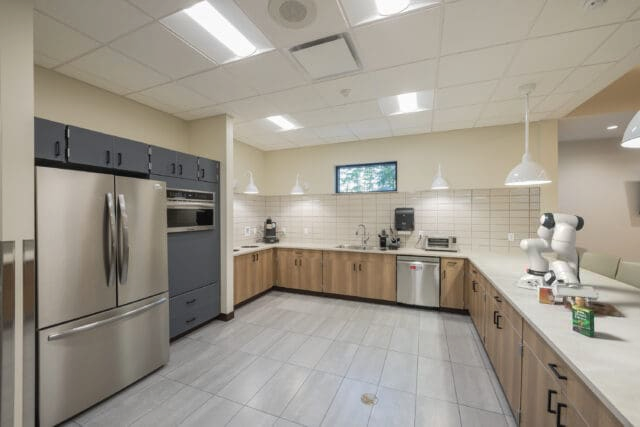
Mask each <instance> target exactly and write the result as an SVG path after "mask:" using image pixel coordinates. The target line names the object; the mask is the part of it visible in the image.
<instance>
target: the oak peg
mask: <svg viewBox="0 0 640 427" xmlns="http://www.w3.org/2000/svg"><path fill="white" fill-rule="evenodd" d="M575 302H576V305H578V306H581V307H584V298H581V297H575Z"/></svg>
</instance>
